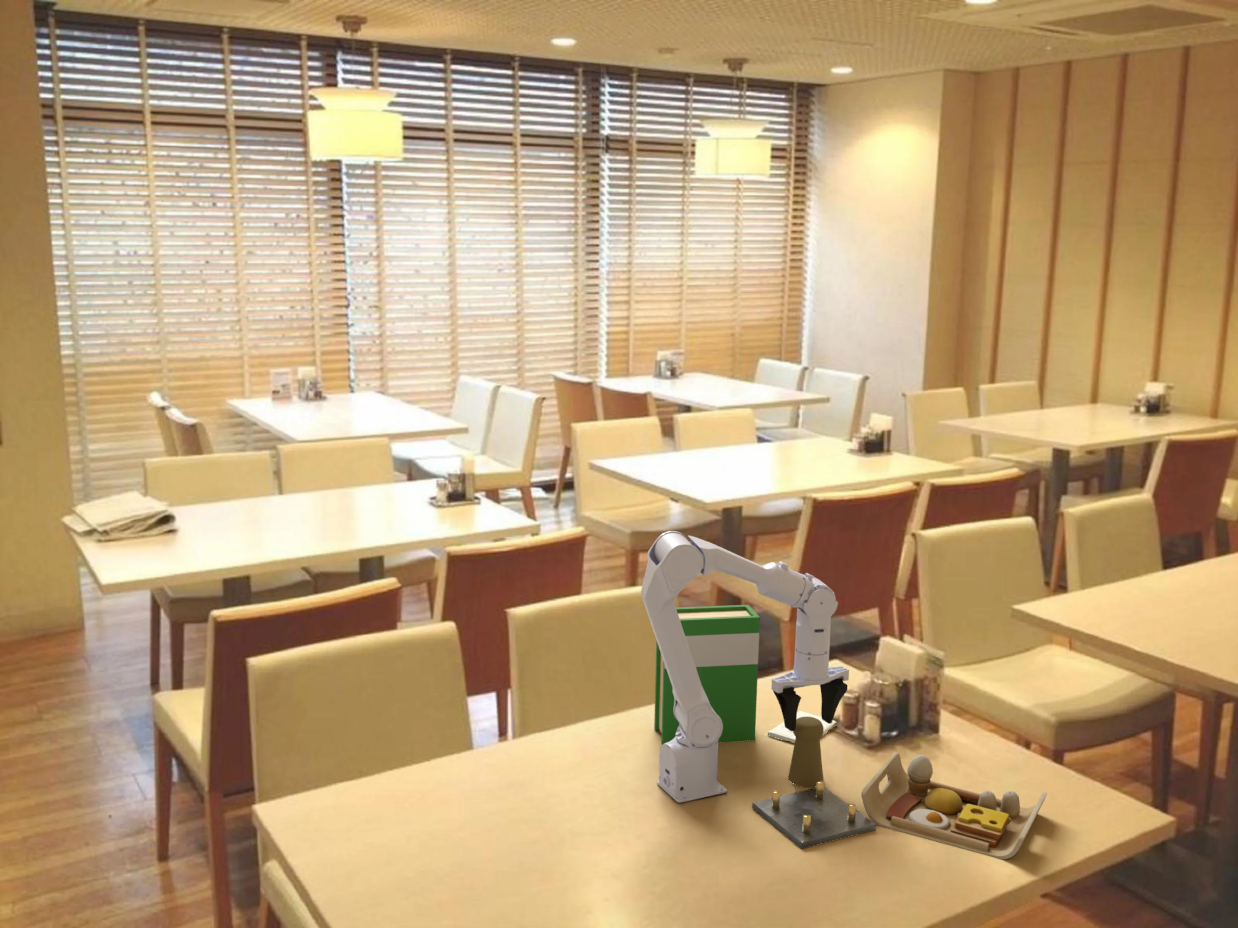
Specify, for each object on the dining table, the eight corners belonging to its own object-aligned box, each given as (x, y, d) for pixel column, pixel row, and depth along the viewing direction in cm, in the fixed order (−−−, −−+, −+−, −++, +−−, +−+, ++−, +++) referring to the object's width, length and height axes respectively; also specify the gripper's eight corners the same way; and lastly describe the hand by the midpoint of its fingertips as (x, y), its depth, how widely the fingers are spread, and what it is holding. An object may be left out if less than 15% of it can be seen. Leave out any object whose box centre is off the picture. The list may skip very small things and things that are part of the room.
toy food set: (858, 822, 180) (861, 777, 178) (893, 778, 195) (896, 737, 194) (1022, 867, 167) (1026, 820, 166) (1045, 817, 182) (1049, 773, 181)
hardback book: (662, 745, 206) (665, 620, 201) (654, 729, 213) (657, 608, 208) (754, 740, 209) (759, 617, 204) (743, 724, 216) (748, 604, 211)
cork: (799, 767, 198) (802, 709, 196) (829, 778, 194) (833, 718, 192) (781, 779, 193) (784, 719, 191) (812, 790, 189) (815, 729, 187)
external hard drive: (836, 728, 216) (805, 750, 206) (798, 717, 221) (767, 738, 211) (837, 720, 215) (806, 742, 206) (799, 710, 220) (767, 730, 211)
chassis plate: (801, 848, 171) (802, 827, 170) (752, 807, 183) (753, 787, 182) (875, 829, 177) (876, 809, 176) (822, 791, 189) (823, 772, 188)
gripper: (833, 636, 196) (829, 709, 198) (762, 647, 189) (759, 723, 192) (858, 649, 189) (853, 724, 192) (786, 661, 183) (782, 739, 186)
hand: (808, 724), depth 192 cm, fingers open, 7 cm apart
